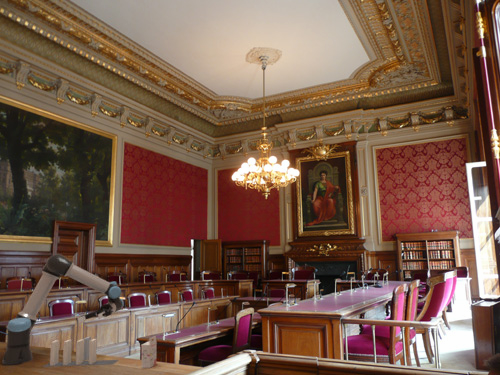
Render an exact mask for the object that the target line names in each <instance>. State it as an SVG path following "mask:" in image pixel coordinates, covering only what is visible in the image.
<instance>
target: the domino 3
mask: <svg viewBox="0 0 500 375" xmlns="http://www.w3.org/2000/svg"><path fill="white" fill-rule="evenodd" d="M84 339H85V338H81V339H79V340H77V341H76V346H75V349H76V350H75V351H76V352H75V361H76V365H79V364H81V363H83V362H84V361H85V360H84Z"/></svg>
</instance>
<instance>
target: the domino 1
mask: <svg viewBox="0 0 500 375" xmlns="http://www.w3.org/2000/svg"><path fill="white" fill-rule="evenodd" d="M59 352H60V340H58V339H55V340H53V341H51V342H50V352H49V353H50V355H49V356H50V358H49V363H50V366H53V365H55V364H57V363H58V362H59Z"/></svg>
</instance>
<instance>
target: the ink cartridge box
mask: <svg viewBox="0 0 500 375" xmlns="http://www.w3.org/2000/svg"><path fill="white" fill-rule="evenodd" d="M140 346H141V369H151V368H152V367H154V366H155V365H157V336H156V335H154V336H152V337H150V338H149V339H148V341H146V342H145V343H141V345H140Z"/></svg>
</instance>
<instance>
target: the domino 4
mask: <svg viewBox="0 0 500 375" xmlns="http://www.w3.org/2000/svg"><path fill="white" fill-rule="evenodd" d="M97 340H98V339H97V338H93V339H92V338H91V341H89V359H88V361H89V364H93V363H95V362H96V361H97V349H98V348H97V345H98V344H97Z"/></svg>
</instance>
